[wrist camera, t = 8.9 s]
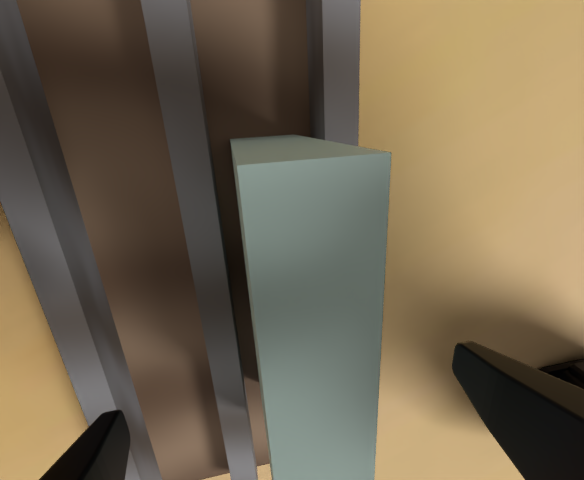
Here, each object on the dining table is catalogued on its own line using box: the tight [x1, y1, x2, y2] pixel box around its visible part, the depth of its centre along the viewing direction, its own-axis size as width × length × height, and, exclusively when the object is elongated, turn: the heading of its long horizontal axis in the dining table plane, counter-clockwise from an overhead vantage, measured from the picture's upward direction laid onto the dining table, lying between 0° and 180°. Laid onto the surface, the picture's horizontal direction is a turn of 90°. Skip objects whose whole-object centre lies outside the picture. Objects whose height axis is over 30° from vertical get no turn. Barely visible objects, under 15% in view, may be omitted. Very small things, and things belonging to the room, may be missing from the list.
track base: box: [0, 0, 360, 480], centre depth 14 cm, size 24×12×4 cm, turn 3°
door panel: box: [230, 135, 391, 480], centre depth 11 cm, size 12×2×8 cm, turn 3°
